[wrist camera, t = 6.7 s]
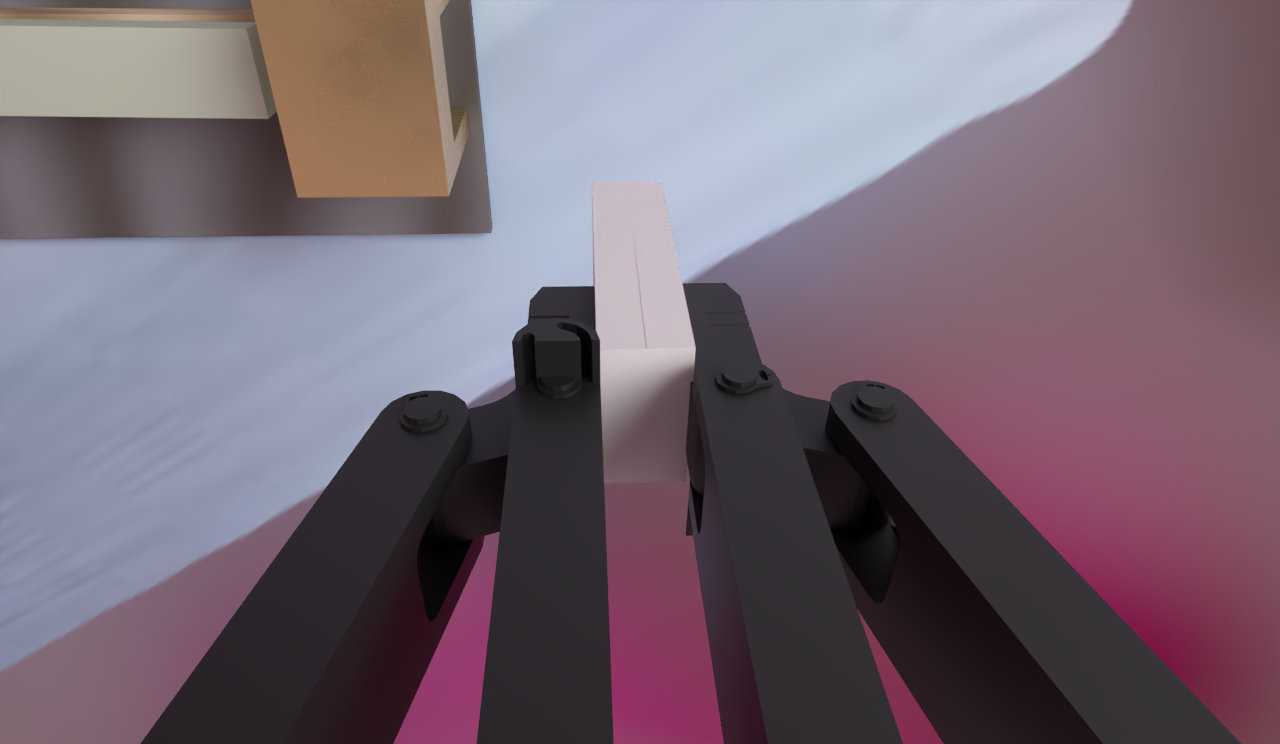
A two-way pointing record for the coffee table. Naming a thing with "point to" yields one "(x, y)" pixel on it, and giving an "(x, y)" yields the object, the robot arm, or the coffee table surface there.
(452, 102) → the tongs base
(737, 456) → the robot arm
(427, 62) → the collar
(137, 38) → the bar
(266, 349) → the coffee table surface
